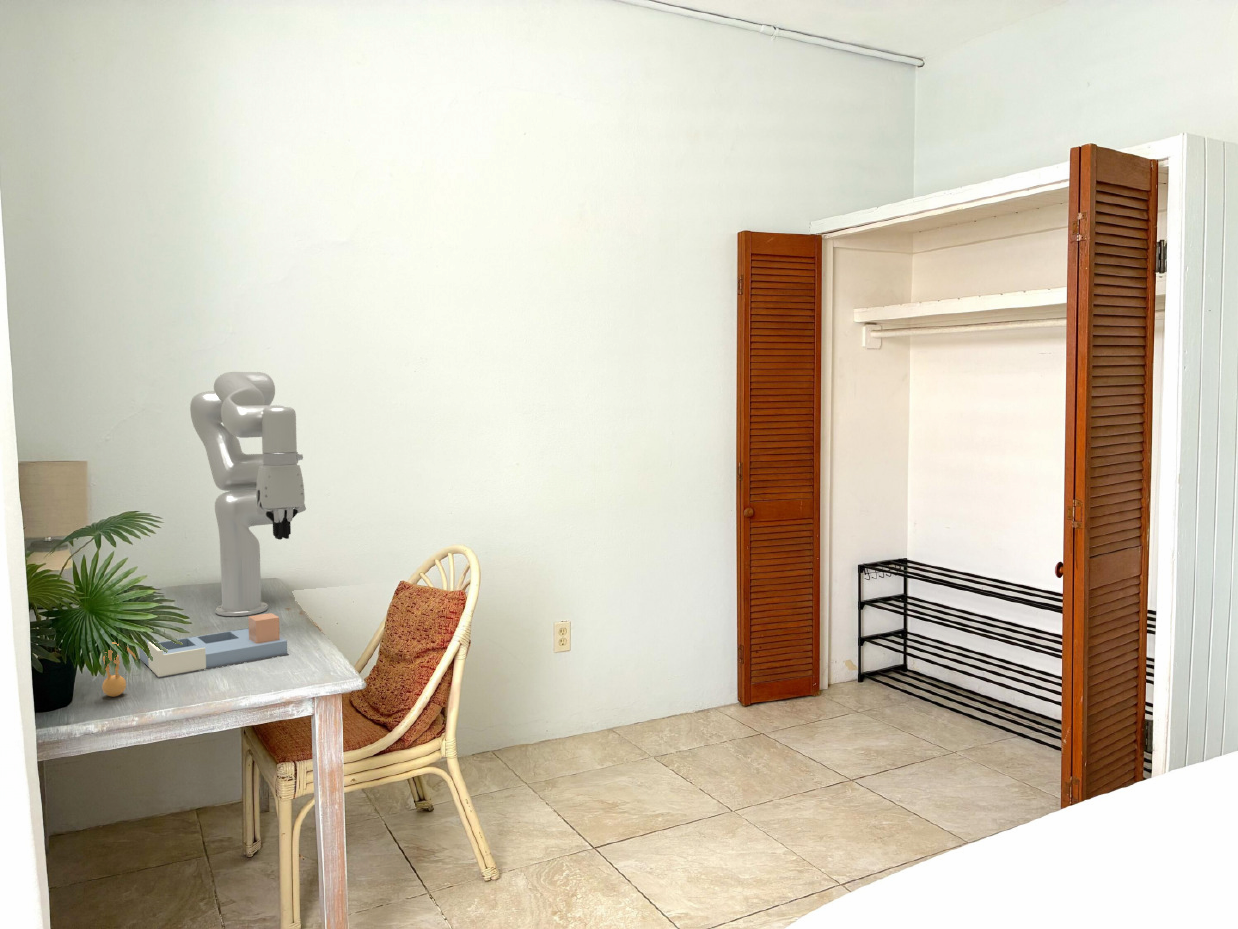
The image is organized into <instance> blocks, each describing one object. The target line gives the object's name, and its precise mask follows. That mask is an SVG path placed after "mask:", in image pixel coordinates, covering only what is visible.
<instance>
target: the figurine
mask: <svg viewBox="0 0 1238 929" xmlns="http://www.w3.org/2000/svg"><path fill="white" fill-rule="evenodd" d="M112 644H117V642H115V641H114V642H112ZM119 644H120V643H118V644H117V646H119ZM126 647H127V646H126ZM126 651H127V652H128V653H129V654H130V655H131V656H132V657H134V659H135V660H137V657H135V656H136V654H135V653H134V652H133V651H132V650H131V649H130V648H129V647H127V650H126ZM105 653H107V652H104V654H105ZM112 653H113V651H112V650H108V658H109V660H110V661H113V660H112ZM116 655H117V657H116V660H115V658H114V661H113V662H112V663H113V664H116V666H115V668H114V671H115V674H113V675H112V674H111V672H110V666H109V665H110V664H111V662H110V663H109V664H108V665H107V666H105V671H106V676H107V677H106V678H105V680H103V682H102V685H101V688H102V691H103V693H104V694H105V695H106V696H108V697H115V698H116V697H118V696H120V695H122V694H123V693H124V692H125V690H126V689H127V681H126V679H125V678H124V677H123V676H121V675H120V674H119V670H120V663H121V661H120V655H118V654H116ZM105 656H106V655H104V656H102V661H103V664H104V665H105Z"/></svg>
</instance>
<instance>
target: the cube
mask: <svg viewBox="0 0 1238 929" xmlns="http://www.w3.org/2000/svg"><path fill="white" fill-rule="evenodd" d="M247 618H248V619H247V620H248V623H247V624H248V628H249V639H250V640H252V641H253V642H255V643H256V644H258V643H264V642H270V641H275V640H280V637H281V636H280V634H281V633H280V617H279V616H277V615H276V614H273V613H272V612H270V613H262V614H254V615H247Z"/></svg>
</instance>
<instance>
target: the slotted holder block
mask: <svg viewBox="0 0 1238 929" xmlns="http://www.w3.org/2000/svg"><path fill="white" fill-rule="evenodd" d="M171 640H172V639H170V640H165V641H157V642H158V643H159V644H161V645H162V646H163V647H165V648H166V649H168V652H167V653H166V652H164V651H163V650H160V649H159V648H158V647H156V646H155V645H154V644H152V643H151V642H149V641H148V640H147V644H148V648H149V650H150V653H151V656H152V657H153V661H152V662H151V660H150V658H148V656H146V654H145V653H144V651H143V650H142V649H141V648H140V647H139V646H138V648H139V658H140V659H139V660H140V661H141V662H142V663H143V662H145V664H146V665H147V666H148V667H149V668H148V667H147V666H146V665H145V664H144V665H145V666H146V667H147V668H148V669H149V670H150V669H151V670H152V671H151V670H150V671H151V672H152V673H153V674H154V675H155V676H156V677H157V678H158V679H161V678H168V677H173V676H178V675H185V674H190V673H196V672H200V671H199V670H202V671H205V670H204V669H208V670H212V669H211V668H213V669H217V668H216V667H219V668H223V667H222V666H224V667H228V666H227V665H230V666H234V665H233V664H235V665H240V664H239V663H241V664H245V663H244V662H247V663H252V662H257V661H262V660H267V659H273V658H272V657H274V658H278V657H277V656H280V657H285V656H289V655H290V654H289V653H288V640H286V639H285V638H283V637H282V636H280V640H275V641H270V642H264V643H258V644H256V643H255V642H253V641H252V640H250V639H249V627H247V628H241V629H240V628H239V629H234V630H228V631H222V632H215V633H214V632H213V633H207V634H203V635H202V634H201V635H197V636H196V635H195V636H191V637H190V636H189V637H184V638H183V637H182V638H178V639H177V640H178V641H180V642H182V643H183V645H180V644H175V643H173V642H172V641H171Z"/></svg>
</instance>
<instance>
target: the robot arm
mask: <svg viewBox="0 0 1238 929" xmlns="http://www.w3.org/2000/svg"><path fill="white" fill-rule="evenodd" d="M275 395H276V386H275V382H274V380H273V378H272V377H271V376H270V375H269V374H268V373H266V372H260V371H229V372H228V371H227V372H224V373H222V374H219V376H217V378H216V379H215V380H214V383H213V390H210V391H209V390H208V391H202V392H199V393H197V394H196V395H194V396H193V397H192V399H191V400H190V406H189V410H190V411H189V412H190V417H191V418H190V419H191V422H192V425H193V428H194V430H195V432H196V434H197V435H198V437H199V439H200V441H201V442H202V444H203V446H204V448H205V451H206V456H207V460H208V464H209V467H210V468H209V469H210V471H211V475H212V478H213V479H212V480H213V482H214V485H216V487H217V488H218V489H219V490H221V491H224V492H222V493H221V494H219V495H218V497H217V498H216V499H215V501H214V512H215V517H216V522H217V529H218V535H219V553H220V554H219V556H220V583H221V587H220V588H221V604H220V605H218V606H217V607H216V608H215V614H217V615H218V616H222V617H243V616H244V617H245V616H253V615H258V614H260V613H264V612H265V611H267V610H268V609H269V605H268V603H266V602H265V601H262V583H261V578H262V577H261V548H260V547H261V546H260V545H261V544H260V542H259V539H258V537H256V535H255V534H254V533H253V532H252V531H251V530H250V529H249V528H251V527H255V526H266V525H267V526H269V525H272V535H273V536H274V538H275V539H276V540H278V541H279V540H282V539H285V540H288V539H290V535H291V533H292V531H291V528H292V526H291V522H292V521H293V519H294V518H295V517H296V516H297V514H300V513H302V512H305V511H307V508H306V504H305V501H306V500H305V499H306V498H305V496H306V495H305V485H304V484H305V483H304V478H303V474H302V469H301V465H299V464H298V463H299V461H303V459H304V455H303V454H300V453H298V450H297V414H296V410H295V409H294V408H292V407H288V406H283V405H272V403H273V401H274V399H275ZM239 438H242V439H243V438H245V439H246V438H247V439H248V438H261V444H262V445H261V446H262V447H261V450H262V453H248V454H247V453H244V452H243V451H242V447H241V442H240V440H239Z"/></svg>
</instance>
